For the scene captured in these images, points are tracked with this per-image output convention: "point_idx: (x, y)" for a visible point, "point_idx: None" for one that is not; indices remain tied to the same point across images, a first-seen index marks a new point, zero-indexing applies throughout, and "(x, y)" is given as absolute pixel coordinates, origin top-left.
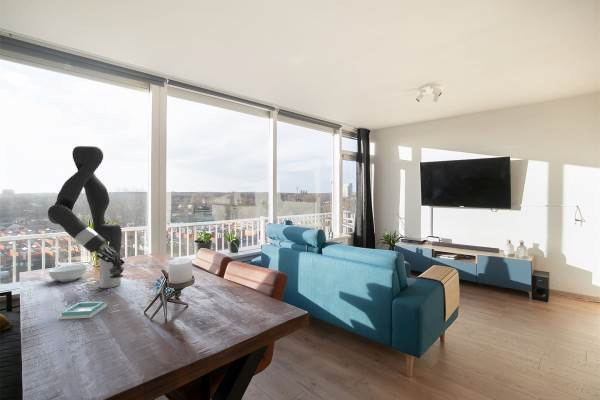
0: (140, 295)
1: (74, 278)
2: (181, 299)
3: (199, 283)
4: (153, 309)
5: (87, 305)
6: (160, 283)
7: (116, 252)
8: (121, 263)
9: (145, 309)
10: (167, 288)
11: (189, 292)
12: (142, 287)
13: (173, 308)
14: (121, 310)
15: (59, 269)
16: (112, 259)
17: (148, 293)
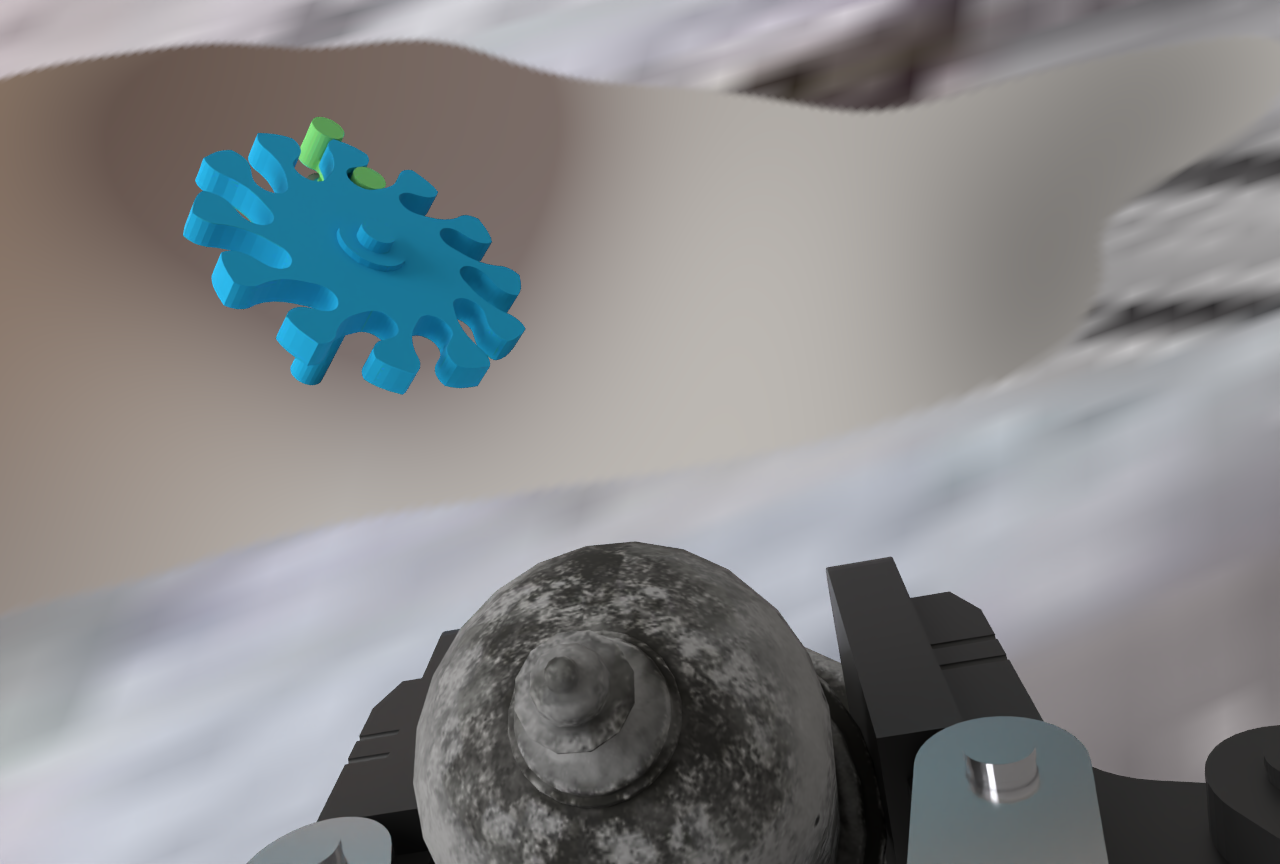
0: None
1: None
2: (811, 43)
3: (186, 37)
4: (1182, 231)
5: None
6: (369, 319)
7: (648, 691)
8: (843, 568)
9: (1184, 331)
10: (452, 256)
11: (543, 39)
12: (40, 802)
13: (1144, 25)
14: (1236, 675)
15: None
16: (1181, 791)
17: (434, 562)
